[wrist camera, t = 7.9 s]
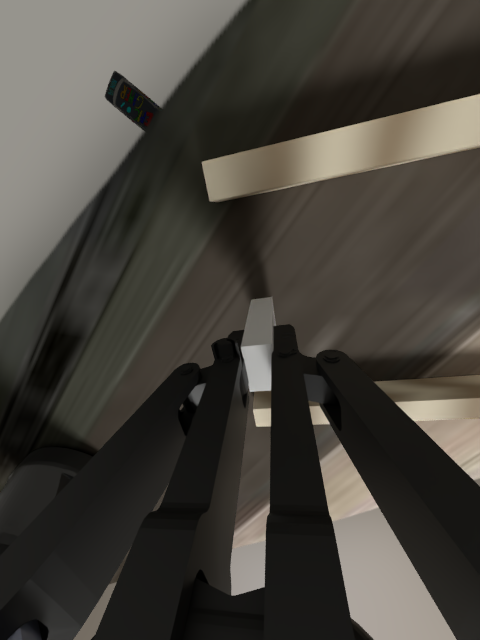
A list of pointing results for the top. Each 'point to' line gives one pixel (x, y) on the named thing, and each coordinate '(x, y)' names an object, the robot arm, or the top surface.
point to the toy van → (130, 100)
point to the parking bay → (350, 158)
